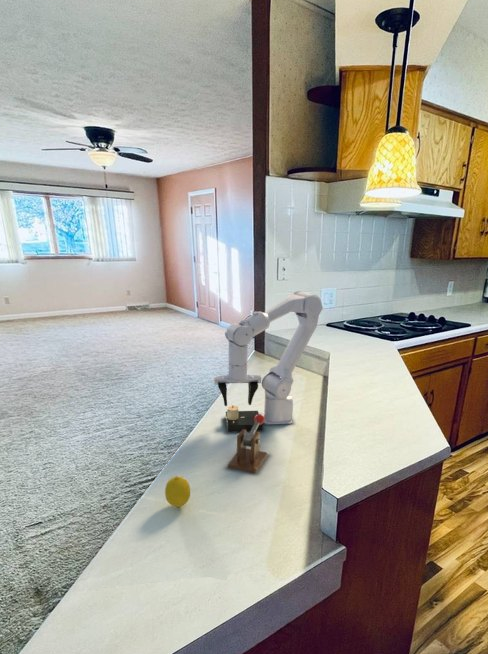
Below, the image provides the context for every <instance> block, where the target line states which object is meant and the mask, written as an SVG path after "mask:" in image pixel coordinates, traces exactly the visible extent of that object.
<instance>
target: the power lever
mask: <svg viewBox="0 0 488 654" xmlns="http://www.w3.org/2000/svg"><path fill="white" fill-rule="evenodd" d="M254 421H255V424H254V425H253V427H252V429H251V431H249V432H246V434H245V436H244V438H243V445H244V446H246V447H249V448H251V438H252V437H253V436H254V434H255V433H256V432H257V431H256V430H257V428H258V426H259V425H260V424H262V425H263V424H264V416H263V415H262V413H259V414H258V415H256V416H255V418H254Z"/></svg>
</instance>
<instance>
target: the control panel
mask: <svg viewBox="0 0 488 654" xmlns="http://www.w3.org/2000/svg"><path fill="white" fill-rule="evenodd" d="M258 414H260V413H259V410H238V419H237V420H229V419H228V418H227V411H225V417H220V419H221V420H222V419H224V420H225V422H226V429H227V433H240V432H241V431H242V430H243V429H246V432H250V431H251V429H252V427H253V425H254V424H255V421H254V418H255V416H256V415H258ZM262 431H263V424H260V425H259V426H258V428H257V430H256V432H262Z"/></svg>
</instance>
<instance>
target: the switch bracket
mask: <svg viewBox="0 0 488 654" xmlns="http://www.w3.org/2000/svg"><path fill="white" fill-rule="evenodd" d="M246 433H247V431H246V429H243V430H242V431H241V432H238V434H237V436H236V453H235V455H234V456H233V457H232V459H231V460H230V461H229V462H228V464H227V468H228V469H233V470H237V471H243V472H247V473H253V474H257V472H258V470H259V469H260V467H261V466H262V465H263V463H264V461H265V460H266V458H268V452H267V451H261V450H260V445H261V431H256V432H255V434H254V436H253V437H252V438H251V447H250V448H247V446H244V445H243V438H244V436H245V434H246Z"/></svg>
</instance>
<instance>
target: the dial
mask: <svg viewBox="0 0 488 654" xmlns="http://www.w3.org/2000/svg"><path fill="white" fill-rule="evenodd" d="M226 410H227V418H228V419H229V420H237V419H238V411H239V407H238V406H236V405H234V404H231V405H230V406H227V408H226Z"/></svg>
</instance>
